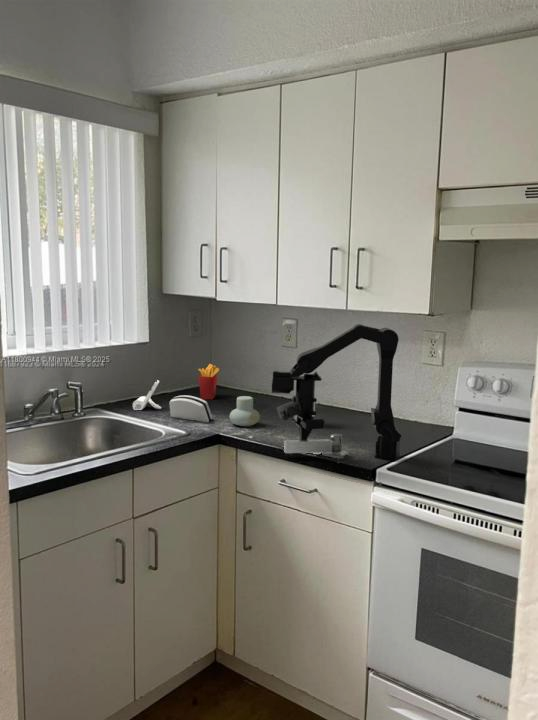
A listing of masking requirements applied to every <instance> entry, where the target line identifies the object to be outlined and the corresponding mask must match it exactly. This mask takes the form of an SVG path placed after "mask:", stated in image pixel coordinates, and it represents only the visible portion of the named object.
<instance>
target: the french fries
mask: <svg viewBox="0 0 538 720" xmlns="http://www.w3.org/2000/svg"><path fill="white" fill-rule="evenodd" d="M197 370H198V371H199V372H200V375H199V376H198V386H199V395H200V397H199V398H200V399H202V400H207V399H211V400H210V401H212V400H213V399H215V398H216V391H217V382H218V374H217V373H219V370H220V368H219V367H216V365H213V364H212V363H209V364H208V366H207V367H206V368H203V367H202V368H198V369H197Z"/></svg>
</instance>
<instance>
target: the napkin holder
mask: <svg viewBox="0 0 538 720" xmlns="http://www.w3.org/2000/svg"><path fill="white" fill-rule="evenodd" d="M169 414H170V417H171V418H177V419H183V420H190V421H194V420H196V422H201V421H202V423H209V422H210V419H211V420H212V421H215V417H214V415H213V414H212V412H211V409H210V407H209V404H208V401H206V400H205V399H201V397H197V396H192V395H185V394H184V395H178V396H174V397H173V398H172V399H170V401H169Z"/></svg>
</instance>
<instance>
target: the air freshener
mask: <svg viewBox="0 0 538 720" xmlns="http://www.w3.org/2000/svg"><path fill="white" fill-rule="evenodd" d="M229 420H230V421H231V423H233V424H234V425H236V426H238V425H239V427H252V426H254V425H256V424H257V423H258V422H259V420H260V413H259V412H258V411H257V410H256V409H254V398H253V397H251V396H250V395H249V396H248V395H247V396H246V395H242V396H241V395H240V396H237V398H236V408H235V409H233V410H231V411H230V413H229ZM251 425H252V426H251Z"/></svg>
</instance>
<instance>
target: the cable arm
mask: <svg viewBox="0 0 538 720" xmlns="http://www.w3.org/2000/svg"><path fill="white" fill-rule="evenodd" d="M329 435H330V436H329V437H330V438H325V439H323V438H322V439H307V440H300V439H287V440H286V439H285V440H283V444H284V446H283V447H284V449H283V452H284V453H285V454H305V453H315V452H334V453H339V452H341V451H343V450H342V448H343V447H342V446H343V434H341V433H331V434H329Z"/></svg>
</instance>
